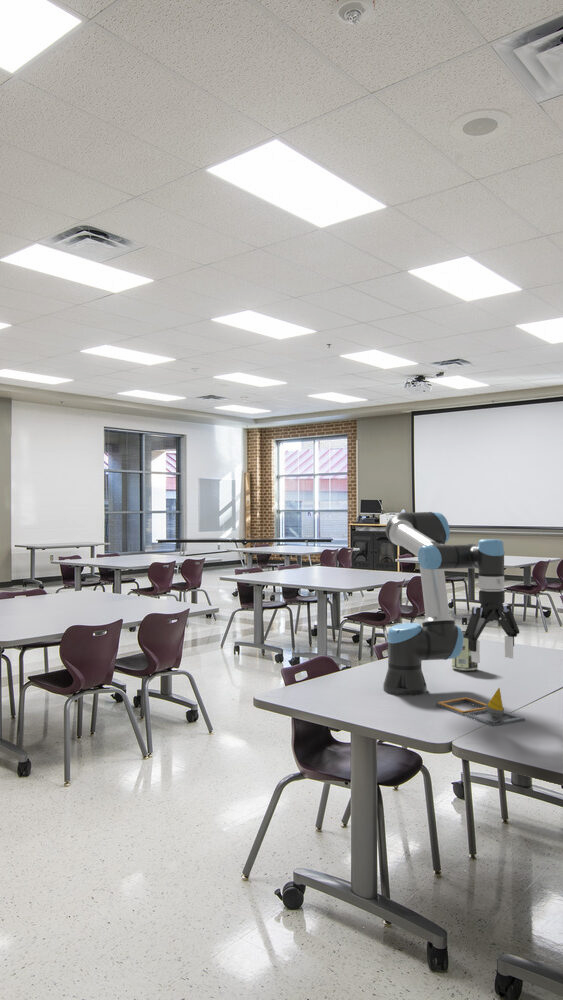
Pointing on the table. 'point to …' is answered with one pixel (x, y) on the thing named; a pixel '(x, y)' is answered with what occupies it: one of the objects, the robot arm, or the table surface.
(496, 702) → the yellow cone
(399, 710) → the table surface
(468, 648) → the coffee can
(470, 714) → the orange gray double frame
